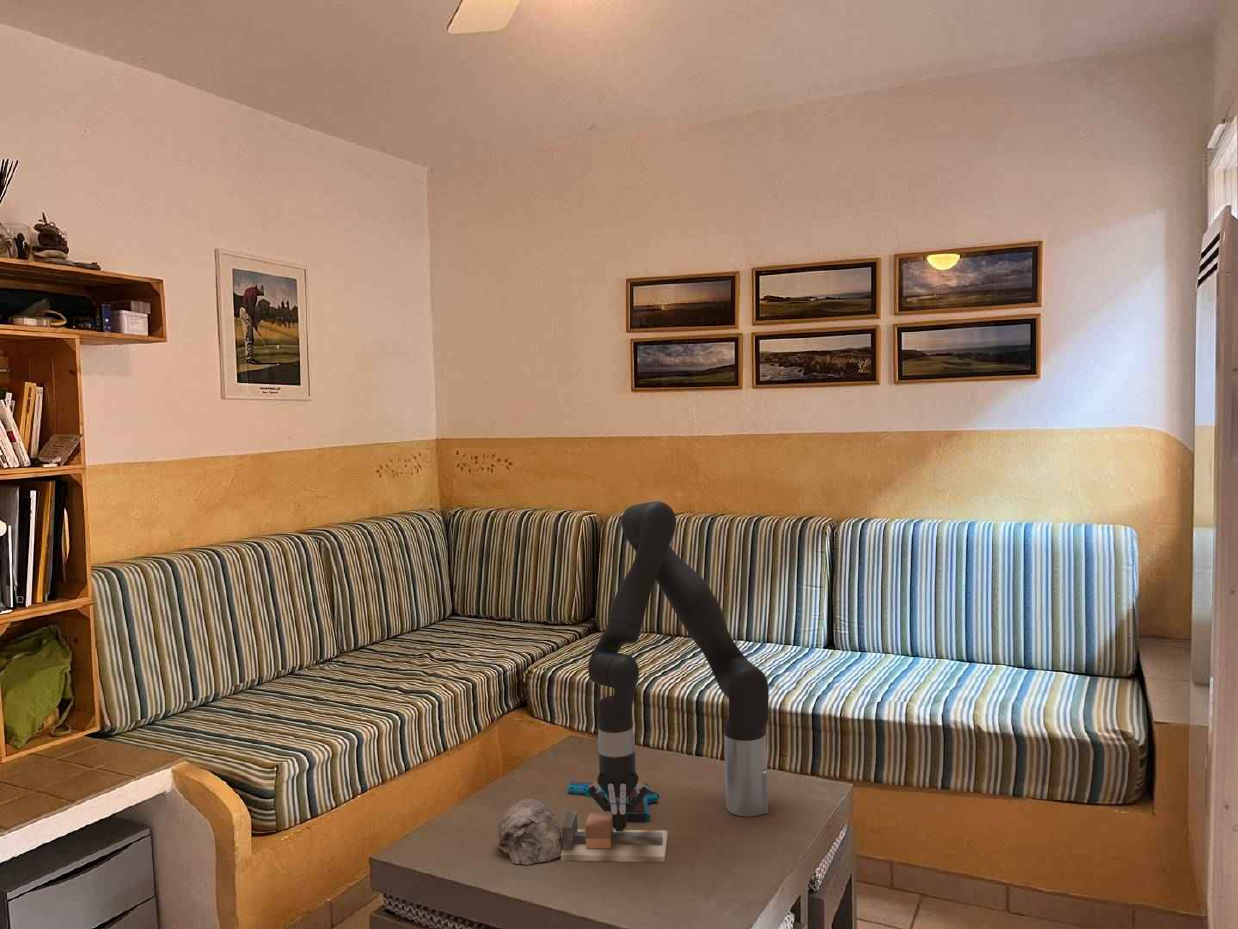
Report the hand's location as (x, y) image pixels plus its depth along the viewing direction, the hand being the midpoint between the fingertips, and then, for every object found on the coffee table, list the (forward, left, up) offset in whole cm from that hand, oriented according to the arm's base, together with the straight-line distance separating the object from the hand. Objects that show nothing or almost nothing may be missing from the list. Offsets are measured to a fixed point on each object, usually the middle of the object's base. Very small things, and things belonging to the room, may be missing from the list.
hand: (619, 829), depth 195 cm
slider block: (+4, 0, -3) cm, 5 cm away
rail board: (+1, 0, -4) cm, 4 cm away
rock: (+19, +2, -4) cm, 19 cm away
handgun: (+5, -20, -5) cm, 21 cm away
